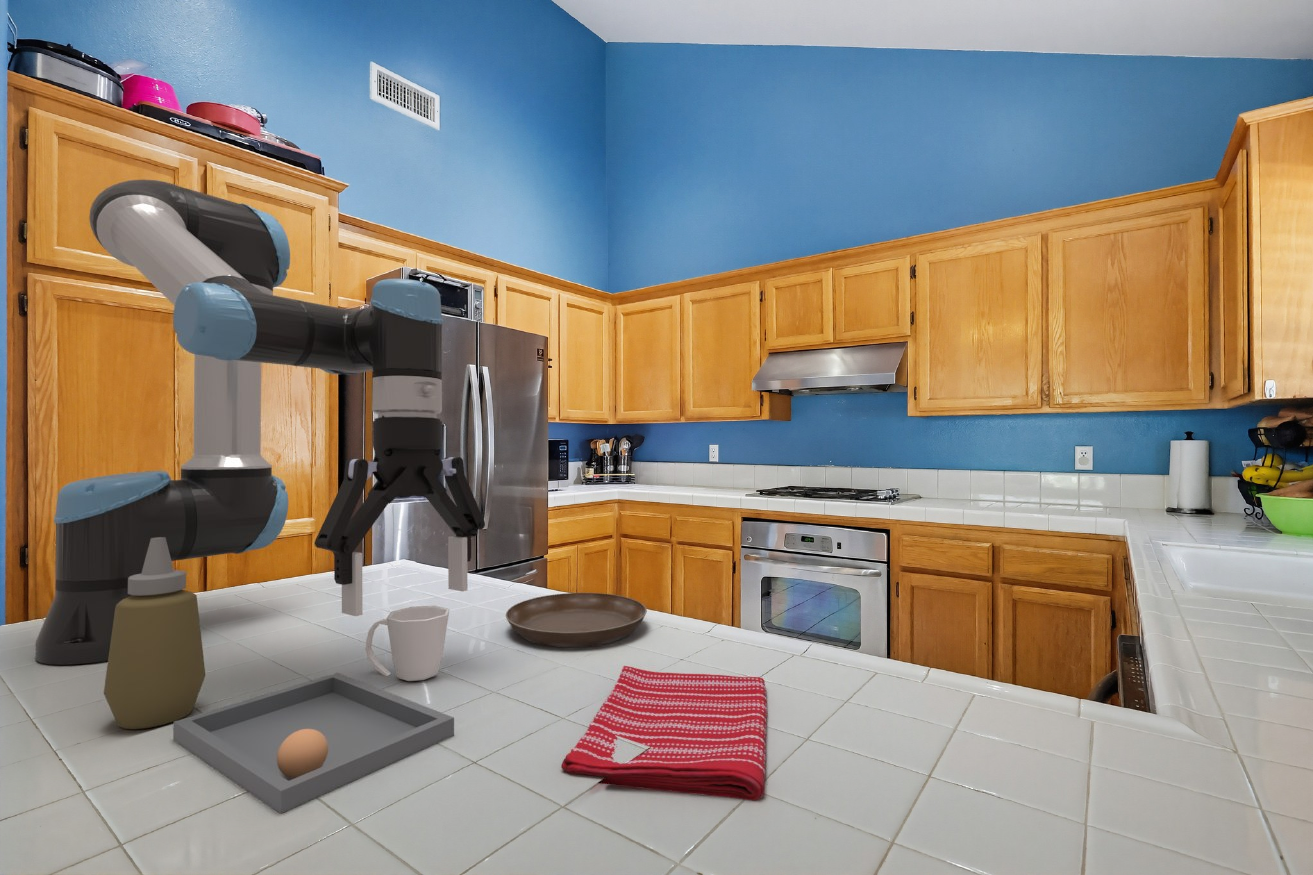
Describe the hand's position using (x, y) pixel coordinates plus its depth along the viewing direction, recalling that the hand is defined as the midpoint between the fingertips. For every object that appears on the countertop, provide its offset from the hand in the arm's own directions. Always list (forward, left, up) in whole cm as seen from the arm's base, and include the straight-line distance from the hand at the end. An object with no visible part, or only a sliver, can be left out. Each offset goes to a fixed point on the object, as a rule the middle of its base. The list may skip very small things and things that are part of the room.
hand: (409, 601), depth 73 cm
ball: (+13, -18, -9) cm, 24 cm away
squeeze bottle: (-12, -20, -10) cm, 25 cm away
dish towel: (+32, +8, -10) cm, 34 cm away
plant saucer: (+2, +27, -10) cm, 29 cm away
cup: (0, 0, -10) cm, 10 cm away
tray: (+7, -14, -9) cm, 18 cm away
